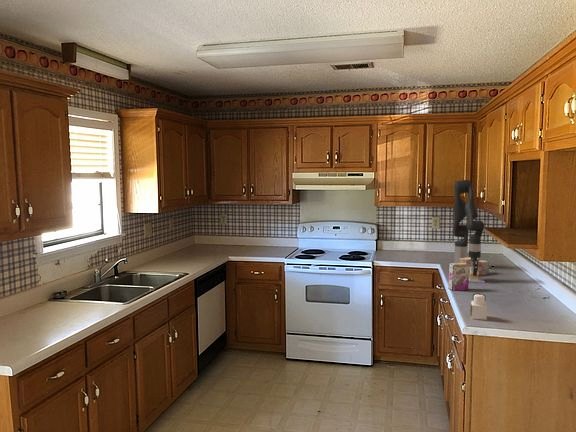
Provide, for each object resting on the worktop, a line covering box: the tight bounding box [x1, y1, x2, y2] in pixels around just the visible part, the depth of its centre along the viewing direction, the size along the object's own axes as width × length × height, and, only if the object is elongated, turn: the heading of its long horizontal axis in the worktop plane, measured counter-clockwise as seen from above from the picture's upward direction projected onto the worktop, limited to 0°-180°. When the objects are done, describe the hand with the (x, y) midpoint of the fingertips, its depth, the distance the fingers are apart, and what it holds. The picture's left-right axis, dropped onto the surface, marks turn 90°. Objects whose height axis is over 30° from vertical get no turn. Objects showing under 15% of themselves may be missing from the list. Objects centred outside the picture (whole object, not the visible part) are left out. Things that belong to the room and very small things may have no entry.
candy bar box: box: [448, 262, 470, 292], centre depth 296 cm, size 11×5×16 cm, turn 100°
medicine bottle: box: [469, 292, 488, 321], centre depth 240 cm, size 7×7×12 cm
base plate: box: [468, 277, 486, 284], centre depth 320 cm, size 12×12×1 cm
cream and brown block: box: [469, 267, 480, 280], centre depth 320 cm, size 5×5×8 cm
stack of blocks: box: [460, 256, 490, 276], centre depth 340 cm, size 21×6×12 cm, turn 111°
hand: (473, 274), depth 320 cm, fingers open, 7 cm apart
